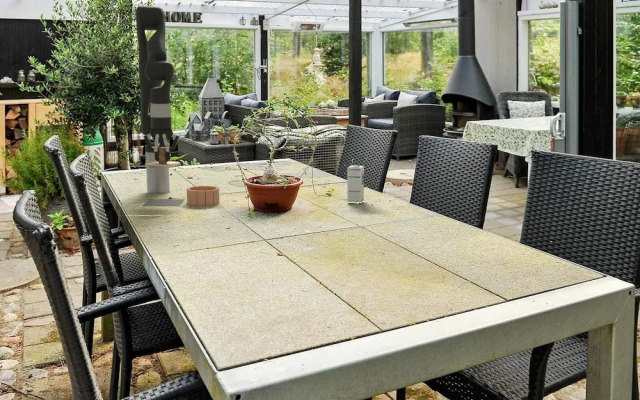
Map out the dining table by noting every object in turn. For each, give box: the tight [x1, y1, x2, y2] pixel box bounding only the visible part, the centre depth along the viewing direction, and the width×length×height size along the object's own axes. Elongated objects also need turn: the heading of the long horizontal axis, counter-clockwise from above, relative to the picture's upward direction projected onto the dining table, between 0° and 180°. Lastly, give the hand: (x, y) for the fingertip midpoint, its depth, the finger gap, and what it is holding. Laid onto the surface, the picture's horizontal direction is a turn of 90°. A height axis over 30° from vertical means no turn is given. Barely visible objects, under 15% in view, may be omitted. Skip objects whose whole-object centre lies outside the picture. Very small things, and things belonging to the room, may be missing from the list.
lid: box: [144, 147, 181, 169], centre depth 245 cm, size 13×13×7 cm
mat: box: [141, 198, 186, 207], centre depth 248 cm, size 14×14×1 cm
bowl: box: [186, 185, 220, 207], centre depth 248 cm, size 12×12×6 cm
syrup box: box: [346, 165, 365, 202], centre depth 252 cm, size 6×6×14 cm
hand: (162, 161), depth 245 cm, fingers closed on lid, 3 cm apart
